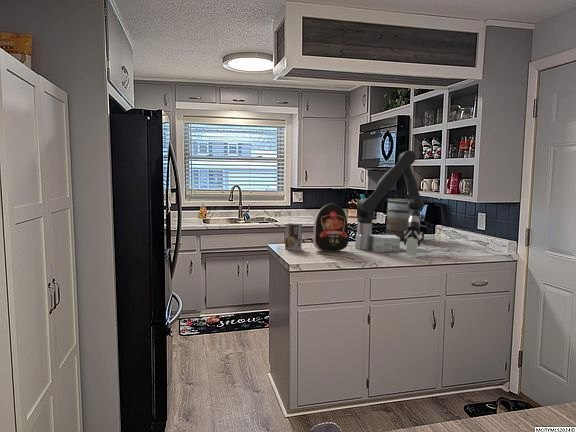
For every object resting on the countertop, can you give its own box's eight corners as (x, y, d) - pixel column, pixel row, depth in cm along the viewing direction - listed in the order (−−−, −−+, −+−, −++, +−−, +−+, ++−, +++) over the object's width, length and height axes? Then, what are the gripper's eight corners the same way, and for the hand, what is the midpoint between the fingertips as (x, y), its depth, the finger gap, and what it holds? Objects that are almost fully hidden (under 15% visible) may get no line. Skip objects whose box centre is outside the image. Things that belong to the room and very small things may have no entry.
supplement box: (393, 248, 287) (394, 234, 286) (399, 252, 274) (400, 238, 273) (369, 247, 286) (369, 234, 285) (373, 251, 273) (374, 237, 272)
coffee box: (301, 249, 272) (302, 224, 270) (297, 250, 266) (298, 225, 264) (288, 247, 276) (289, 222, 274) (284, 249, 270) (285, 224, 268)
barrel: (401, 235, 343) (404, 198, 340) (422, 240, 323) (425, 200, 320) (379, 236, 333) (382, 198, 330) (399, 241, 313) (402, 201, 310)
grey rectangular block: (416, 255, 260) (417, 238, 259) (405, 254, 262) (407, 237, 261) (416, 253, 269) (417, 236, 267) (406, 252, 270) (407, 235, 269)
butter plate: (409, 257, 258) (409, 251, 257) (397, 253, 269) (397, 247, 268) (425, 256, 262) (425, 250, 262) (412, 252, 273) (413, 246, 273)
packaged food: (316, 254, 258) (318, 204, 255) (309, 247, 278) (311, 202, 274) (351, 254, 262) (353, 205, 258) (342, 248, 281) (344, 202, 278)
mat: (418, 254, 270) (418, 253, 270) (406, 250, 281) (406, 249, 281) (433, 253, 274) (433, 252, 274) (421, 249, 285) (421, 248, 285)
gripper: (402, 219, 272) (399, 240, 262) (425, 221, 268) (424, 242, 258) (402, 227, 278) (399, 247, 268) (425, 228, 273) (423, 249, 264)
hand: (411, 245), depth 263 cm, fingers open, 7 cm apart
